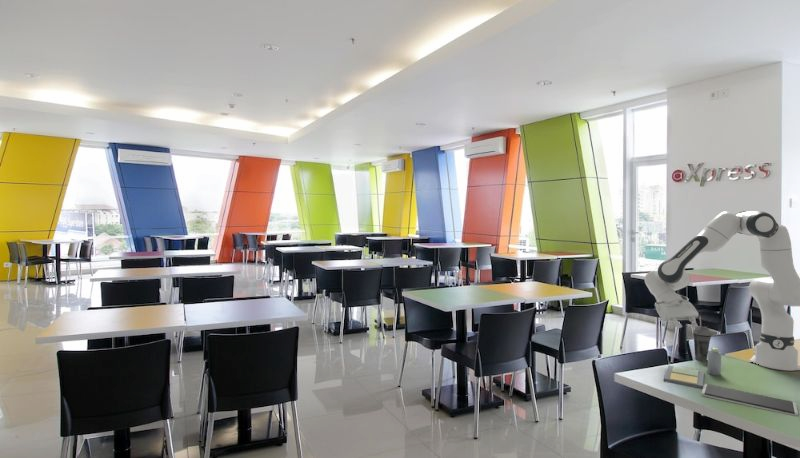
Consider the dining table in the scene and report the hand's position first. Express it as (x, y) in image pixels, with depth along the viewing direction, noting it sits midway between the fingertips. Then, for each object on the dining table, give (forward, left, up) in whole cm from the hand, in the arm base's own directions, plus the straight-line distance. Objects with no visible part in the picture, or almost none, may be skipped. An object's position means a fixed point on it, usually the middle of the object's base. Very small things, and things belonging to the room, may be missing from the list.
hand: (688, 327), depth 208 cm
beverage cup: (-15, +5, -17) cm, 23 cm away
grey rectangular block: (+7, +10, -17) cm, 21 cm away
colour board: (+21, 0, -17) cm, 27 cm away
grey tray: (+36, +20, -17) cm, 45 cm away
